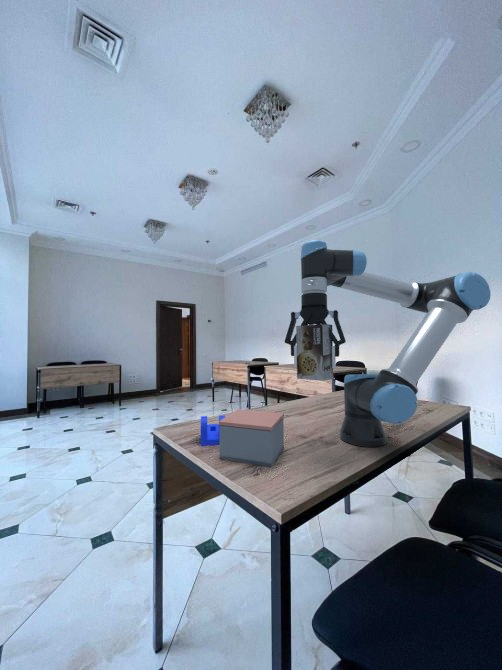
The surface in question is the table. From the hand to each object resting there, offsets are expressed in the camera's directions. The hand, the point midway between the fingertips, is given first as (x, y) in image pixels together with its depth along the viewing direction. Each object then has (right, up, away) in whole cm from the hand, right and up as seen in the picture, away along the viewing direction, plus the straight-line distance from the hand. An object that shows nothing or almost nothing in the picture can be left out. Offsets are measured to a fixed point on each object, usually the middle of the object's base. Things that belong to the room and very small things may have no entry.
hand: (314, 367), depth 83 cm
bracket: (-33, -28, +20) cm, 48 cm away
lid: (-19, -17, +4) cm, 25 cm away
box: (-18, -27, +3) cm, 33 cm away
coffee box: (0, -4, 0) cm, 4 cm away
